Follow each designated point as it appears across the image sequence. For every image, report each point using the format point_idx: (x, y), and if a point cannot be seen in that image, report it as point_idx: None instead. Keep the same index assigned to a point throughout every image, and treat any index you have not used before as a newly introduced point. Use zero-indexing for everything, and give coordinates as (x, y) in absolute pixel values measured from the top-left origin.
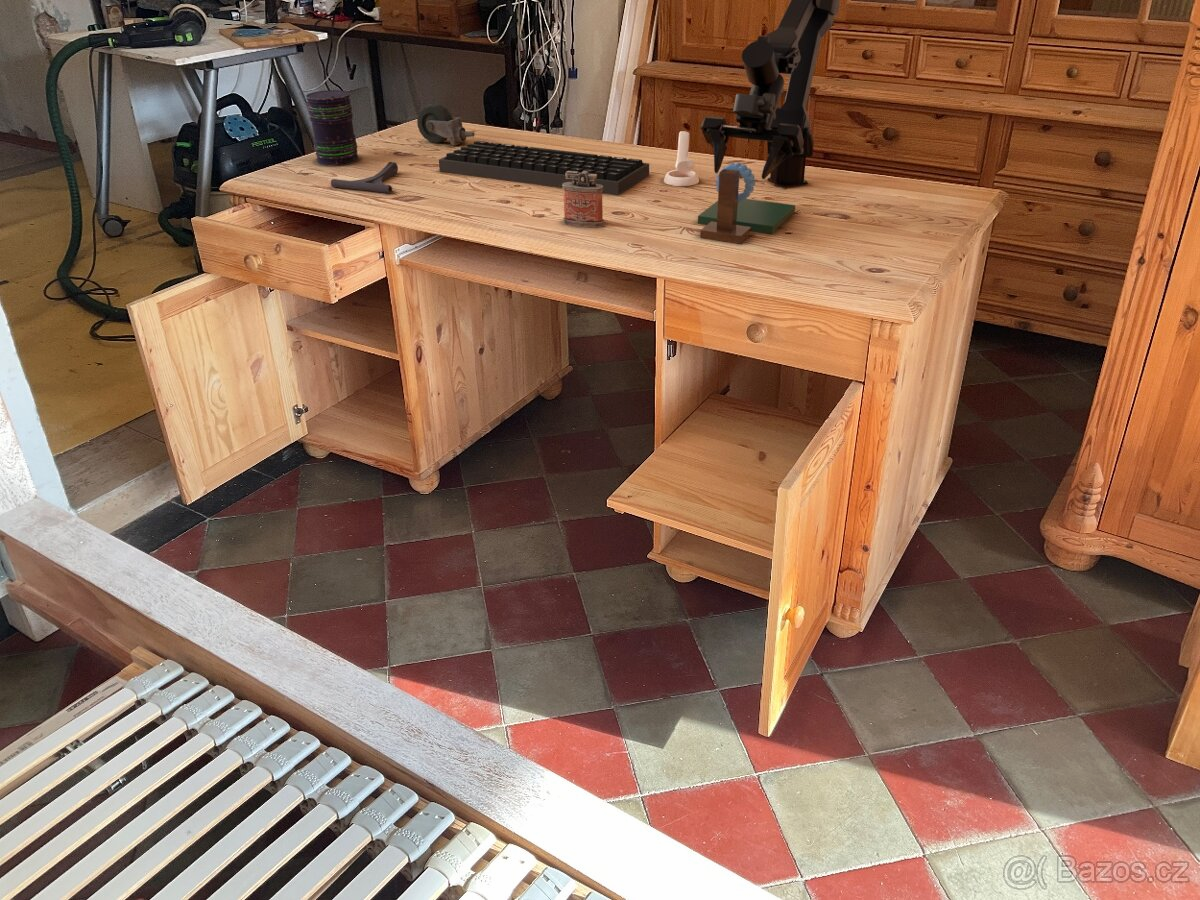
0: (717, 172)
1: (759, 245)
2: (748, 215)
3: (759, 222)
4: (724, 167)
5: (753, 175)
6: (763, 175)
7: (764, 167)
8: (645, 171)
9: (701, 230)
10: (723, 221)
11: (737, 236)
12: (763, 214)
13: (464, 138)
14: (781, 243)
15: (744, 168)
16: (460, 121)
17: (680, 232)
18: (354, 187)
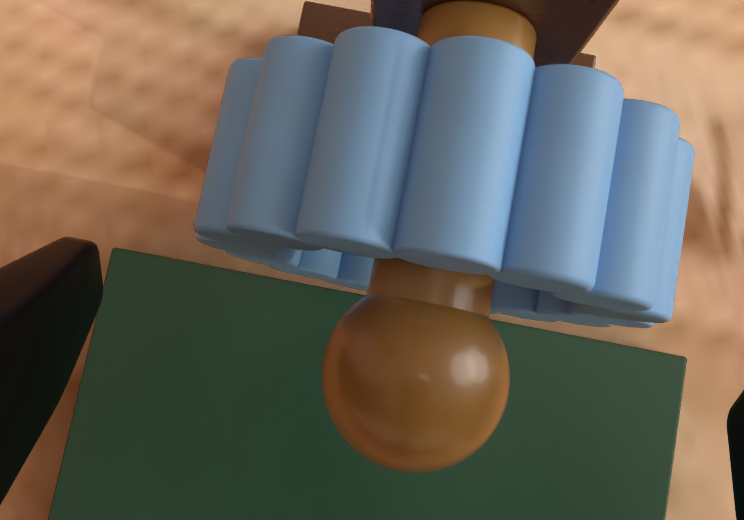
0: (732, 418)
1: (191, 28)
2: (319, 455)
3: (217, 309)
4: (653, 209)
5: (204, 210)
6: (65, 240)
7: (17, 295)
8: None
9: (587, 55)
10: None
11: (331, 8)
12: (209, 509)
13: None
14: (57, 94)
15: (322, 116)
16: None
17: (726, 151)
18: None
